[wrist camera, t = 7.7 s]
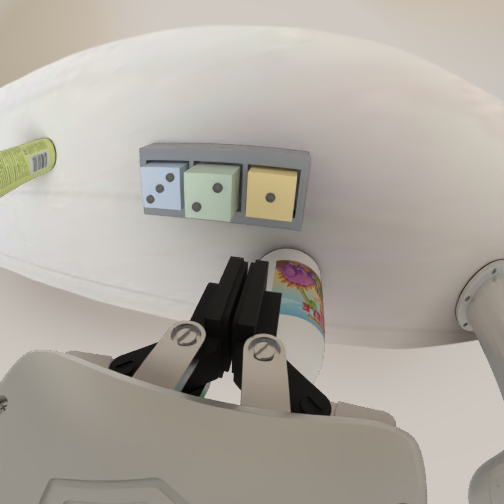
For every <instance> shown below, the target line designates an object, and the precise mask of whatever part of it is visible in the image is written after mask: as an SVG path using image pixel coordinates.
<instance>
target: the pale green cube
mask: <svg viewBox="0 0 504 504" xmlns="http://www.w3.org/2000/svg"><path fill="white" fill-rule="evenodd" d="M240 169H241V166H236V165H222V164H203V163H198V164H196V165H194V166H193V167H191V168H190V169H188V170H187V171H185V172H184V199H185V217H186V218H196V219H206V220H215V221H225V222H231V220H232V219H233V217H234V215H235V213H236V211H237V210H238V208H239V191H240Z"/></svg>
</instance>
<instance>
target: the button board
mask: <svg viewBox="0 0 504 504" xmlns="http://www.w3.org/2000/svg"><path fill="white" fill-rule="evenodd" d="M139 152H140V167H142V166H144V165H146V164H148V163H150V162H152V161H154V160H181V161H189V169H190V168H191V167H193V166H194V165H196V164H198V163H203V164H222V165H236V166H241V169H240V191H239V208H238V210H237V211H236V213H235V215H234V217H233V219H232V220H231V222H229V223H238V224H247V225H256V226H264V227H273V228H281V229H289V230H297V231H301V226H302V220H303V213H304V205H305V198H306V191H307V183H308V175H309V167H310V158H311V157H310V153H309V152H306V151H298V150H290V149H280V148H270V147H259V146H246V145H230V144H205V143H153V144H150V145H148V146H145V147H142V148H139ZM253 165H263V166H273V167H283V168H291V169H297V182H296V191H295V199H294V208H293V216H292V222H288V221H280V220H271V219H263V218H254V217H246V200H247V180H248V171H249V170H250V168H251V167H252V166H253ZM144 214H149V215H160V216H171V217H181V218H186V217H185V207H184V208H183V209H182V210H173V209H161V208H148V207H144ZM191 219H196V218H191ZM201 220H206V219H201ZM211 221H215V220H211ZM220 222H225V221H220Z"/></svg>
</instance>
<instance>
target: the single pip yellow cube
mask: <svg viewBox="0 0 504 504" xmlns="http://www.w3.org/2000/svg"><path fill="white" fill-rule="evenodd" d="M296 182H297V169H291V168H283V167H273V166H263V165H253V166H252V167H251V168H250V170H249V171H248V180H247V200H246V217H254V218H263V219H271V220H280V221H288V222H292V216H293V208H294V199H295V191H296Z"/></svg>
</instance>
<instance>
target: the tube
mask: <svg viewBox="0 0 504 504" xmlns="http://www.w3.org/2000/svg"><path fill="white" fill-rule="evenodd" d="M54 163H55V150H54V146H53V144H52V142H51V141H50V140H49V139H47V138H43V139H39V140H36V141H32V142H29V143H25V144H22V145H19V146H16V147H13V148H9V149H6V150H3V151H0V197H2V196H4V195H5V194H7V193H8V192H10V191H12V190H13V189H15V188H17V187H19V186H20V185H22V184H24V183H26V182H28V181H30V180H32V179H34V178H35V177H37V176H39V175H41V174H44V173H46V172H48V171H50V170H51V169H52V168H53V166H54Z"/></svg>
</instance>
